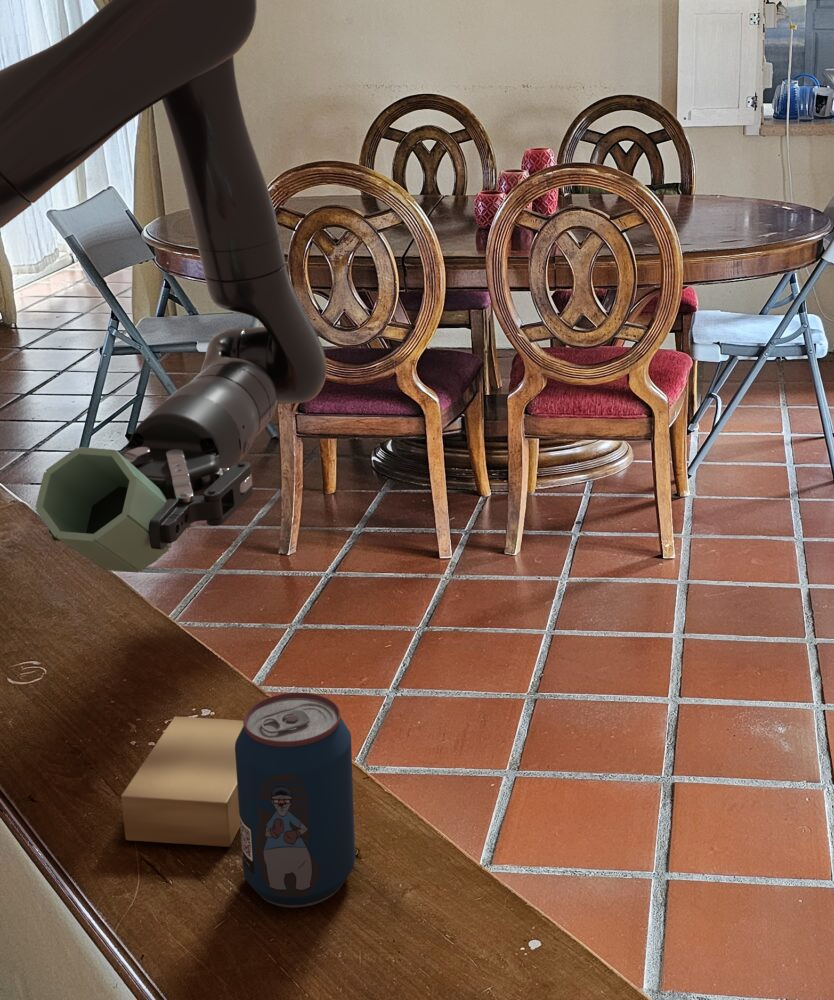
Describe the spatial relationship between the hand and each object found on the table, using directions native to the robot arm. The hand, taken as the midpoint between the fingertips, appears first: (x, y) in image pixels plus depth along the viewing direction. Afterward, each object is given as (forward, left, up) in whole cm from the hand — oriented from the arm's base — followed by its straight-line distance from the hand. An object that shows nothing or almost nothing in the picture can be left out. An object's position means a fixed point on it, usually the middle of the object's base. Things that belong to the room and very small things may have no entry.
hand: (105, 533), depth 88 cm
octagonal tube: (+1, -1, -1) cm, 2 cm away
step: (+9, +2, -18) cm, 20 cm away
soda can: (+20, +2, -18) cm, 27 cm away
